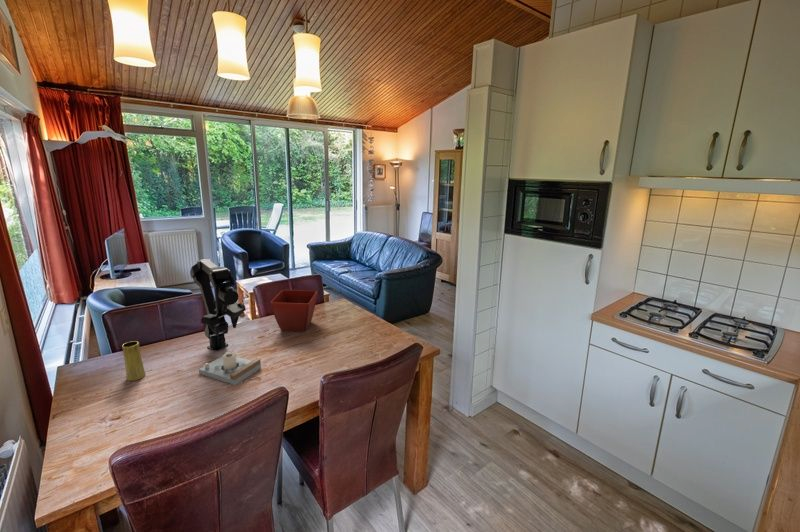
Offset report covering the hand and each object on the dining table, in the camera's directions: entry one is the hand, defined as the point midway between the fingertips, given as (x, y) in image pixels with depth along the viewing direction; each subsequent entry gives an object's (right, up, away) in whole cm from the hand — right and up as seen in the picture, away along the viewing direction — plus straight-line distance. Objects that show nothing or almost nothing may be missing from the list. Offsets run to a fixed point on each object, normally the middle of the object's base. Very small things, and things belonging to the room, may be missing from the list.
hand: (226, 331), depth 161 cm
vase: (-29, -16, -13) cm, 36 cm away
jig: (+5, -15, -8) cm, 17 cm away
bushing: (+5, -15, -8) cm, 17 cm away
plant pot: (+20, -4, +36) cm, 41 cm away
